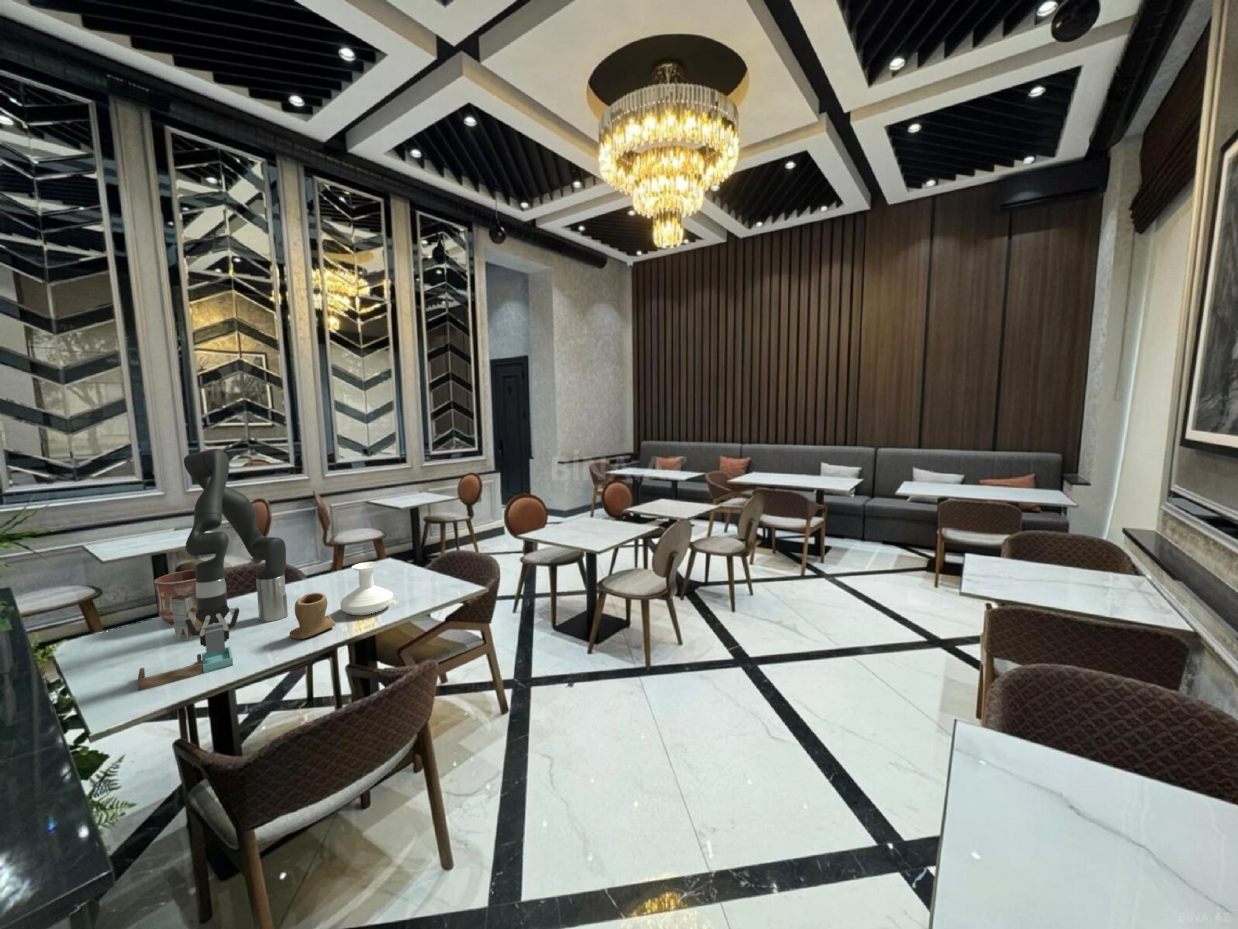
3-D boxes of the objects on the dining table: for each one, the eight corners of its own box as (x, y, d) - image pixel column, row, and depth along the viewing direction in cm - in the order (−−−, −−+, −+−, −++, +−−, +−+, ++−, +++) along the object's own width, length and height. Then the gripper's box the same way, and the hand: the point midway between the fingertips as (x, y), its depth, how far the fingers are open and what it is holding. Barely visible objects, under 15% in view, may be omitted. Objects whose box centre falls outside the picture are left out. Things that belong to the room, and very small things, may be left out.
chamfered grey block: (223, 641, 162) (222, 621, 162) (225, 650, 157) (223, 629, 156) (206, 645, 159) (204, 625, 159) (206, 654, 153) (205, 633, 153)
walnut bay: (201, 662, 159) (201, 653, 159) (202, 673, 152) (201, 664, 151) (140, 677, 149) (139, 668, 149) (138, 690, 142) (137, 681, 142)
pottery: (148, 623, 190) (144, 579, 189) (202, 607, 206) (199, 566, 204) (170, 631, 183) (167, 585, 181) (224, 615, 199) (221, 572, 197)
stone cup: (304, 644, 172) (301, 603, 171) (285, 637, 177) (282, 598, 176) (344, 628, 185) (342, 590, 184) (325, 622, 191) (323, 585, 189)
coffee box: (200, 629, 185) (197, 588, 183) (214, 630, 183) (211, 589, 182) (174, 639, 176) (170, 597, 174) (188, 641, 174) (184, 598, 173)
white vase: (354, 623, 190) (351, 576, 188) (332, 611, 202) (329, 566, 200) (402, 608, 205) (400, 564, 204) (379, 597, 217) (377, 556, 216)
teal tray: (230, 653, 165) (230, 646, 165) (233, 665, 157) (232, 658, 157) (202, 660, 160) (201, 653, 160) (203, 673, 152) (202, 665, 152)
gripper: (238, 585, 164) (241, 633, 165) (182, 595, 154) (186, 646, 156) (240, 590, 158) (243, 640, 160) (181, 601, 149) (185, 654, 150)
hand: (215, 643), depth 158 cm, fingers closed on chamfered grey block, 4 cm apart
